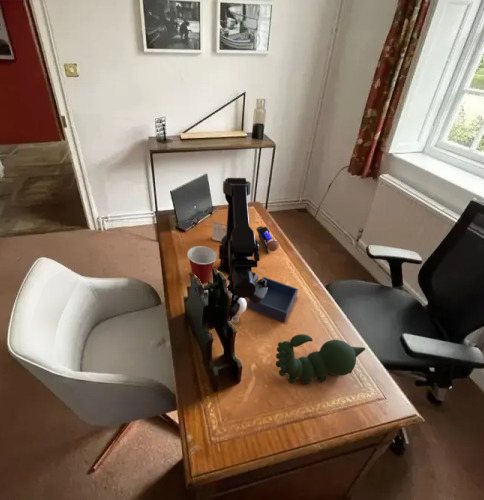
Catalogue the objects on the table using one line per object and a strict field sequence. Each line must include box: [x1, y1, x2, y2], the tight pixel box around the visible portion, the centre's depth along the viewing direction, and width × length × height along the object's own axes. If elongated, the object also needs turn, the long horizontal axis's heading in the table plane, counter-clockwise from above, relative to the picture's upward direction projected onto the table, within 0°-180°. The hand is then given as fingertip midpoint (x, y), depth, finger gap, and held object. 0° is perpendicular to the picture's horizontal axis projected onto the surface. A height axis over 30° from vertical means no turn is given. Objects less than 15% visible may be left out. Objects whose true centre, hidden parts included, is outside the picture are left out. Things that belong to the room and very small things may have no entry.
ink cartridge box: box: [211, 221, 227, 243], centre depth 139 cm, size 2×11×10 cm, turn 67°
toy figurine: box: [275, 333, 366, 386], centre depth 85 cm, size 9×19×25 cm
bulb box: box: [247, 276, 299, 323], centre depth 111 cm, size 13×13×4 cm
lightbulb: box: [230, 298, 248, 324], centre depth 101 cm, size 6×6×11 cm
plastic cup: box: [186, 245, 218, 285], centre depth 118 cm, size 11×11×12 cm
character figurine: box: [256, 226, 279, 254], centre depth 138 cm, size 8×7×15 cm
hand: (235, 310), depth 101 cm, fingers open, 9 cm apart
